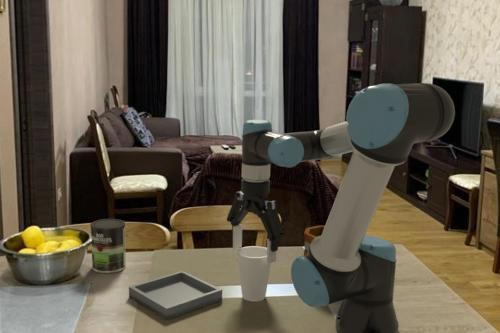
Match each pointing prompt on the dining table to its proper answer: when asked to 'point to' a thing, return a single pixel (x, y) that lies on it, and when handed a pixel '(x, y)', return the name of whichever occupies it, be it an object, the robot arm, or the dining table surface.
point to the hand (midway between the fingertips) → (253, 254)
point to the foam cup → (253, 272)
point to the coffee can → (108, 245)
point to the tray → (175, 294)
